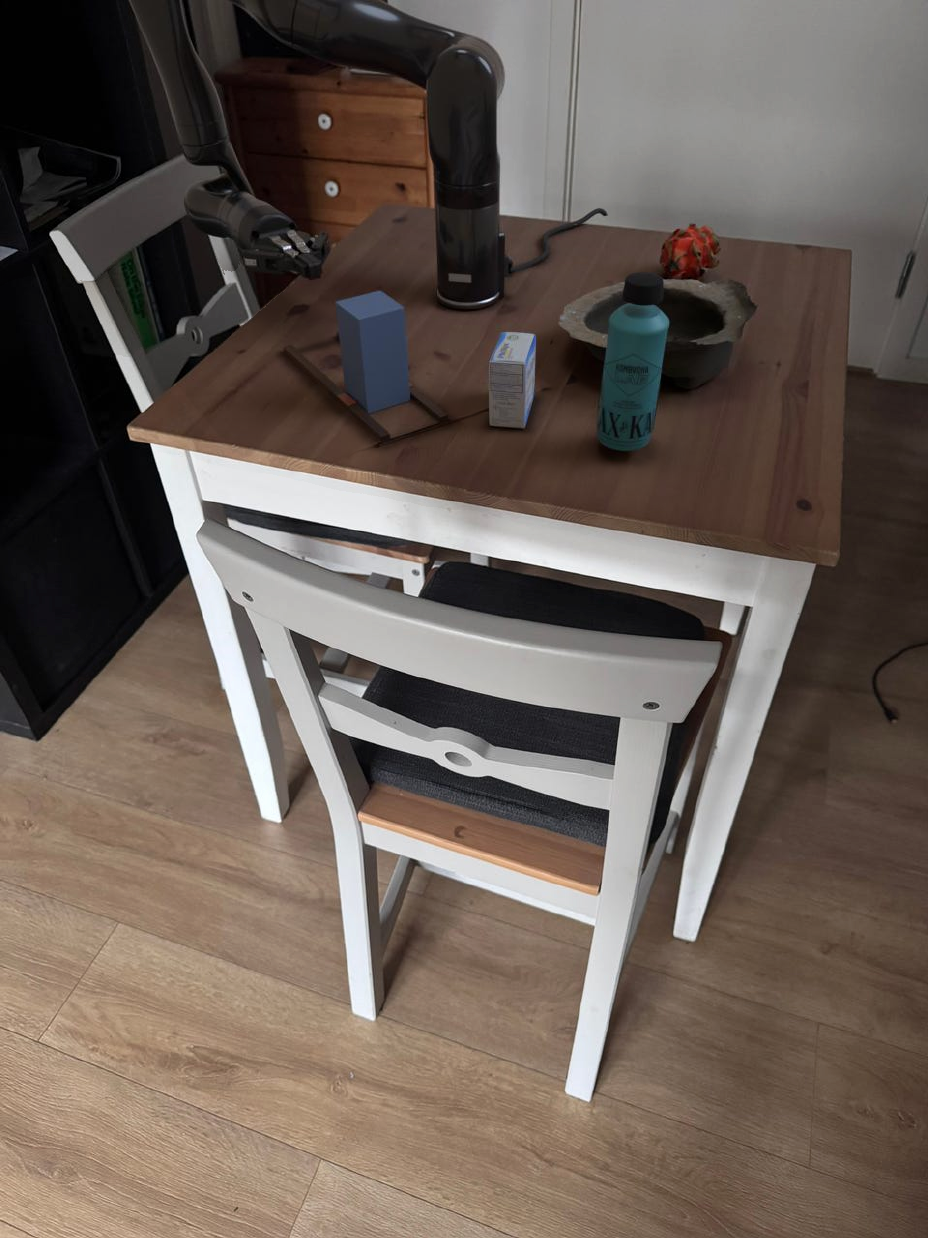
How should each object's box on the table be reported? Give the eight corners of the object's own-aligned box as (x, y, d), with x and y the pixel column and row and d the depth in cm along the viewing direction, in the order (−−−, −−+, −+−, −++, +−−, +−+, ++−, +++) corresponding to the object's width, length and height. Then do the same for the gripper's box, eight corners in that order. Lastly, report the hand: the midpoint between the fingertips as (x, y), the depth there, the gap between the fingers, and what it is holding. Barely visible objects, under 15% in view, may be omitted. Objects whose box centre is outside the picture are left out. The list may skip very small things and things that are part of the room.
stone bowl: (775, 398, 111) (786, 328, 105) (575, 422, 111) (574, 353, 105) (719, 312, 129) (726, 247, 123) (547, 332, 129) (545, 269, 123)
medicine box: (524, 430, 107) (527, 362, 101) (488, 426, 108) (488, 359, 102) (534, 398, 113) (537, 332, 107) (499, 395, 114) (500, 329, 108)
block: (387, 381, 115) (380, 289, 107) (410, 400, 112) (404, 307, 104) (345, 394, 113) (335, 301, 105) (367, 414, 109) (358, 319, 101)
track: (347, 338, 126) (346, 328, 125) (451, 422, 109) (451, 412, 108) (282, 356, 123) (280, 346, 122) (379, 447, 105) (378, 436, 104)
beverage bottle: (589, 435, 106) (604, 265, 93) (644, 432, 106) (668, 262, 93) (600, 465, 101) (618, 291, 88) (657, 461, 102) (684, 288, 88)
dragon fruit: (709, 276, 145) (669, 310, 139) (674, 236, 144) (632, 269, 139) (743, 242, 137) (702, 277, 132) (706, 199, 137) (663, 233, 131)
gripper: (212, 214, 121) (262, 253, 110) (301, 195, 126) (358, 230, 115) (223, 270, 126) (272, 312, 115) (309, 249, 131) (364, 288, 120)
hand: (315, 271), depth 115 cm, fingers closed
